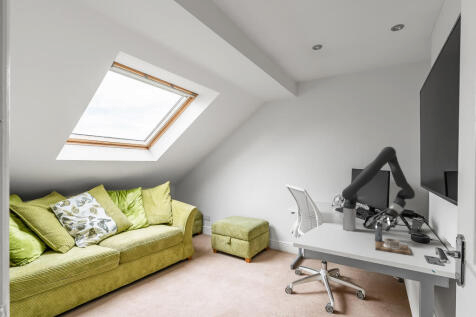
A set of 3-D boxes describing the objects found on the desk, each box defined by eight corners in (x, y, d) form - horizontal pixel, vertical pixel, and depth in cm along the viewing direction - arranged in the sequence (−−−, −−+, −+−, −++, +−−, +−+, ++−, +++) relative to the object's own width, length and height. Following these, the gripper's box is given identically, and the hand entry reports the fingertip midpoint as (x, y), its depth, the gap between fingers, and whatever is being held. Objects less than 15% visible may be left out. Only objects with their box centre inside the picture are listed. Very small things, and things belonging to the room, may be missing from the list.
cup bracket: (375, 249, 152) (375, 241, 152) (375, 243, 165) (375, 235, 165) (410, 255, 144) (410, 245, 144) (407, 248, 156) (407, 239, 156)
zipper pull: (424, 221, 199) (422, 227, 180) (424, 229, 199) (422, 236, 180) (411, 219, 205) (407, 225, 186) (411, 227, 205) (407, 234, 186)
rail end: (374, 241, 168) (374, 224, 168) (374, 239, 172) (374, 222, 172) (382, 242, 166) (382, 224, 166) (382, 240, 170) (382, 223, 170)
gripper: (382, 206, 179) (369, 222, 176) (399, 209, 165) (386, 228, 162) (387, 212, 180) (375, 229, 177) (406, 217, 167) (392, 235, 163)
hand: (380, 229), depth 169 cm, fingers open, 8 cm apart
